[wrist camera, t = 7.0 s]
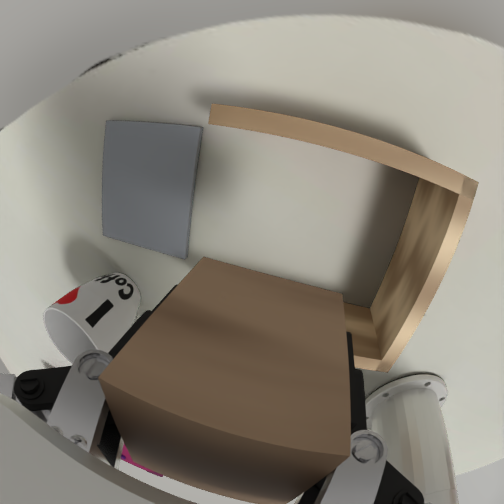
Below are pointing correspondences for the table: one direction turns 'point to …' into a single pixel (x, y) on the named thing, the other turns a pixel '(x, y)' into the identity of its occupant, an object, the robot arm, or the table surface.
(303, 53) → the table surface
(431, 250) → the oak u-shaped frame
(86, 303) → the cup
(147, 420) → the block
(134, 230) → the mat
